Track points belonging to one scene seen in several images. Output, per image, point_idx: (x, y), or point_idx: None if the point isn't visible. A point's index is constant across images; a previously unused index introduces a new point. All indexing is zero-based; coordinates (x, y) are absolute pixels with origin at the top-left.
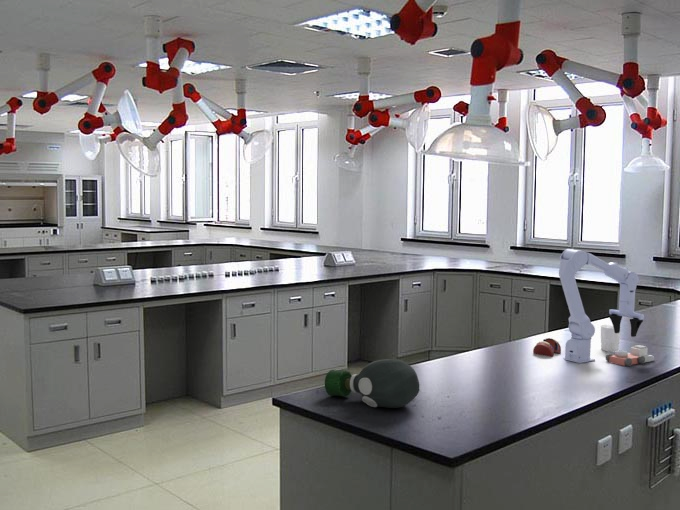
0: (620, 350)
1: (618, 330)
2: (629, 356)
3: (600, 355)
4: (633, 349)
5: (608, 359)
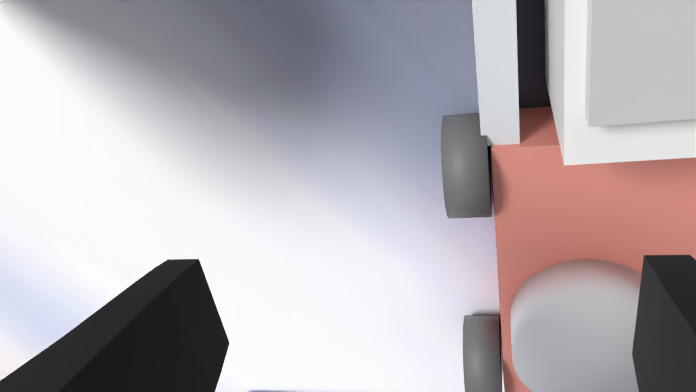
0: (535, 323)
1: (182, 327)
2: (659, 254)
3: (235, 208)
4: (623, 151)
5: (501, 372)
